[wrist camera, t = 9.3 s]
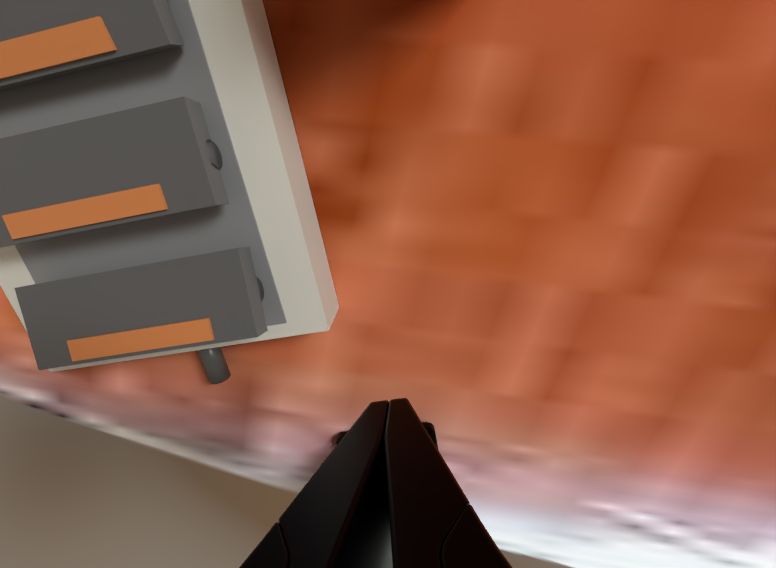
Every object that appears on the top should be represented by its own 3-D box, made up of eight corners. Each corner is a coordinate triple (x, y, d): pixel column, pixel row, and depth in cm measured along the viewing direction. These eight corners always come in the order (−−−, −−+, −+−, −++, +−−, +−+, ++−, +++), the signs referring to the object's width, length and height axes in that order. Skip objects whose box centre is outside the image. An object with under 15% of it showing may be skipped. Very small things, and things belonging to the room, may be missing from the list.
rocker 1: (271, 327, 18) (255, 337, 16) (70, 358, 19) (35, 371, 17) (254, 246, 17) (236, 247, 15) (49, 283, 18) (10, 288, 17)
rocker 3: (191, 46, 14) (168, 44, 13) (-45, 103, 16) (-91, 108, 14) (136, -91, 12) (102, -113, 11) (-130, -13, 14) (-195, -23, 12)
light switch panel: (350, 351, 22) (342, 381, 19) (114, 385, 24) (73, 417, 21) (242, -78, 15) (205, -133, 12) (-77, 11, 17) (-176, -19, 14)
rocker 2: (234, 203, 16) (214, 205, 14) (16, 245, 17) (-27, 252, 15) (206, 105, 15) (181, 95, 13) (-24, 157, 16) (-74, 154, 14)
